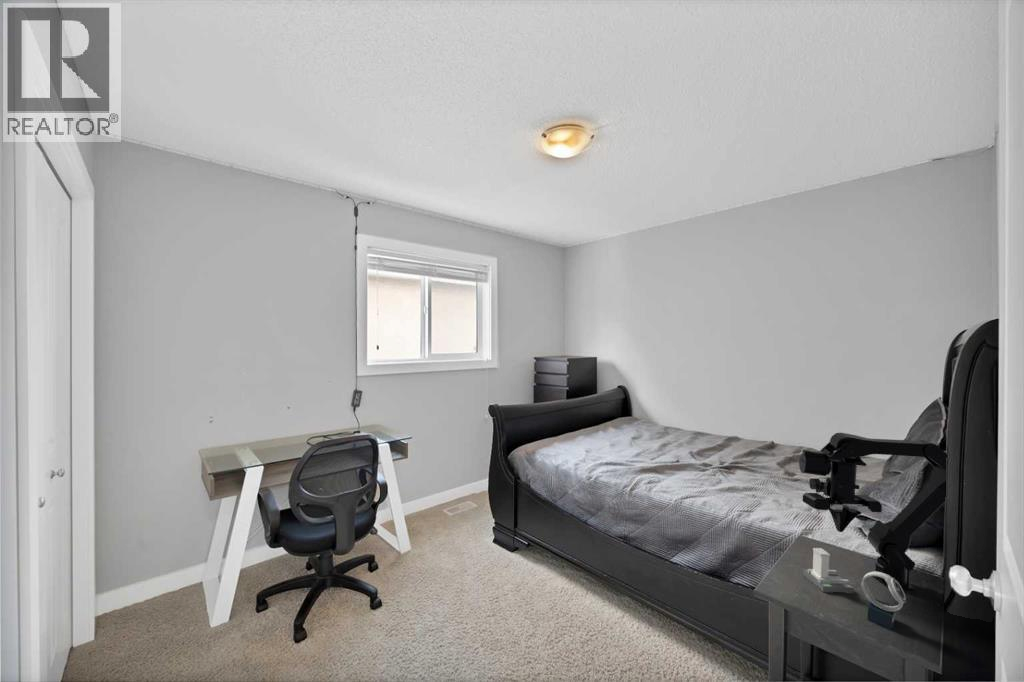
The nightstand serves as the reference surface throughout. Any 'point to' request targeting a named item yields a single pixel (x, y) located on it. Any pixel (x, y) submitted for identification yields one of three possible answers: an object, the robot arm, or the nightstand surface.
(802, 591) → the nightstand surface
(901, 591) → the watch
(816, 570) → the handle
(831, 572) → the breaker panel
